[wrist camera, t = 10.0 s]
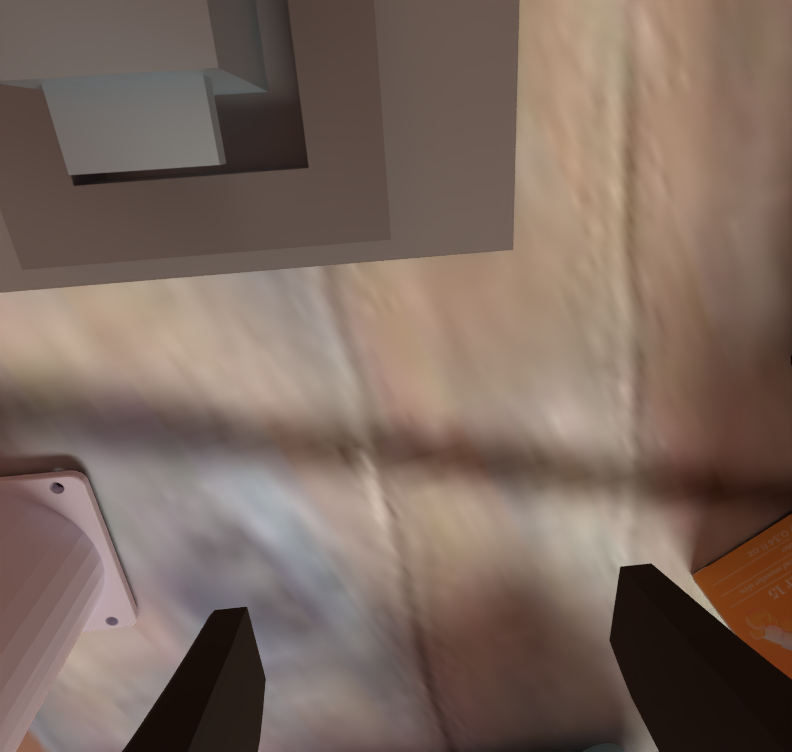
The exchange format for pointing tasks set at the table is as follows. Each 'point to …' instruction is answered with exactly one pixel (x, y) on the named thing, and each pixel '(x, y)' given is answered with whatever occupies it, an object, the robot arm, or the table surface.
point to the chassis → (293, 156)
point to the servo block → (133, 75)
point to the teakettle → (605, 748)
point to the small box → (756, 592)
